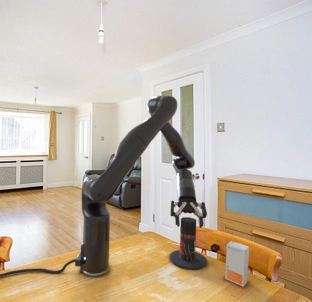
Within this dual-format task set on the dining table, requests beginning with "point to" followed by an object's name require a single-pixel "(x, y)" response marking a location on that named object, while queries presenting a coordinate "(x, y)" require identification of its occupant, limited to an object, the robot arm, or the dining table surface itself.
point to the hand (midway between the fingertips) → (189, 226)
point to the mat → (191, 265)
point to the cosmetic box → (237, 263)
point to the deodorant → (187, 239)
